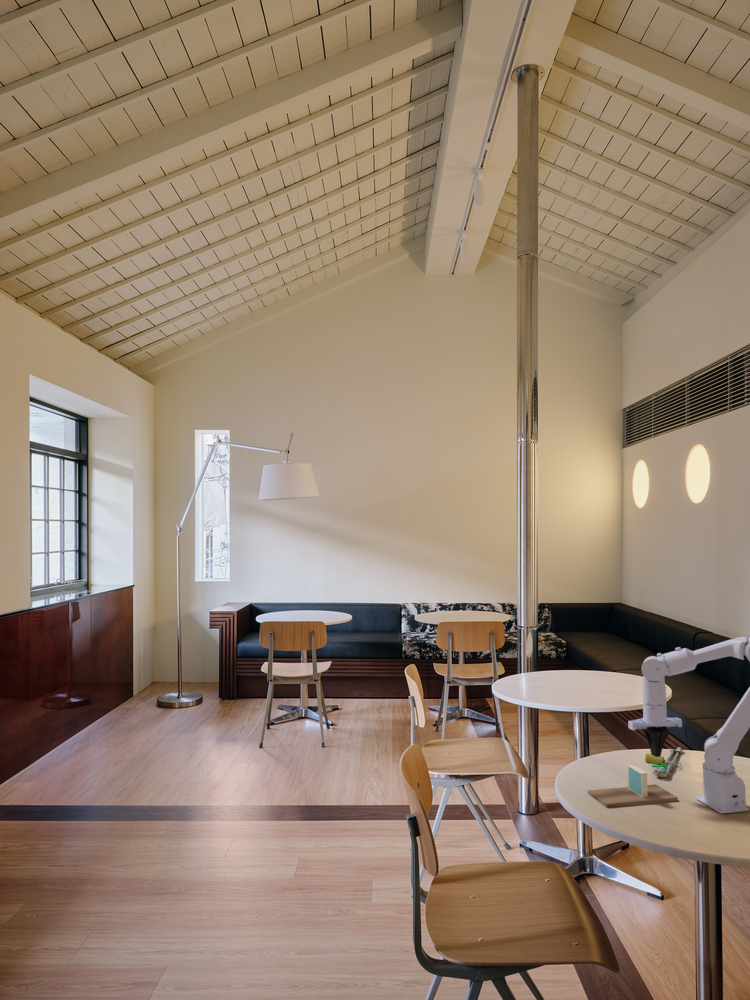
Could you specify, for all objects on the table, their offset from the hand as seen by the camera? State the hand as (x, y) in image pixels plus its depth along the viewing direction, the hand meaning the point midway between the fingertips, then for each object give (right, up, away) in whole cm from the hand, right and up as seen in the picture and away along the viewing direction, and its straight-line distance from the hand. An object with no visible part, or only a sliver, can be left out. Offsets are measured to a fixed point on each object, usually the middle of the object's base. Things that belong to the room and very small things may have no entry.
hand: (655, 755), depth 173 cm
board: (-7, -10, -2) cm, 12 cm away
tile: (-5, -9, -1) cm, 11 cm away
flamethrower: (+12, -12, +22) cm, 28 cm away
